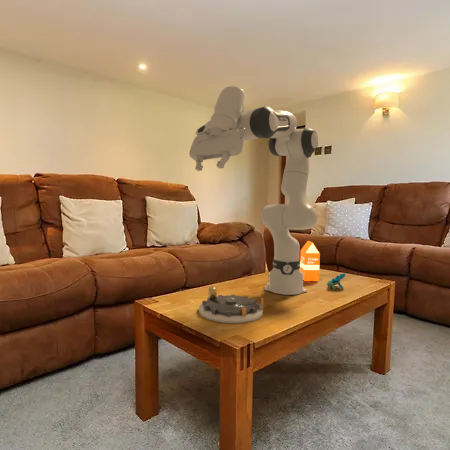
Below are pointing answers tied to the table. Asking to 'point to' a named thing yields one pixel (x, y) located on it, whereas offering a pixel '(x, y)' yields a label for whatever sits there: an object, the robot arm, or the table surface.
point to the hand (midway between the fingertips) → (208, 168)
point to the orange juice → (310, 262)
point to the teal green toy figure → (336, 281)
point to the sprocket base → (232, 318)
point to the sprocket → (229, 304)
